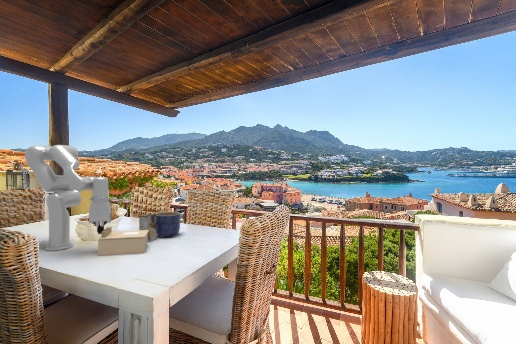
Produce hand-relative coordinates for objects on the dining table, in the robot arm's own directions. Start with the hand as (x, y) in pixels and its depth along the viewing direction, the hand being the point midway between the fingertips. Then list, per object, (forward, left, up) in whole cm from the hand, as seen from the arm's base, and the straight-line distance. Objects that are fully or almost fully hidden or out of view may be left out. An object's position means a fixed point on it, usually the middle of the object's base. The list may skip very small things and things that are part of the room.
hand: (100, 233), depth 149 cm
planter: (+33, +28, -10) cm, 44 cm away
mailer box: (+12, 0, -10) cm, 15 cm away
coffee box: (+22, +18, -10) cm, 30 cm away
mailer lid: (+12, 0, -1) cm, 12 cm away
